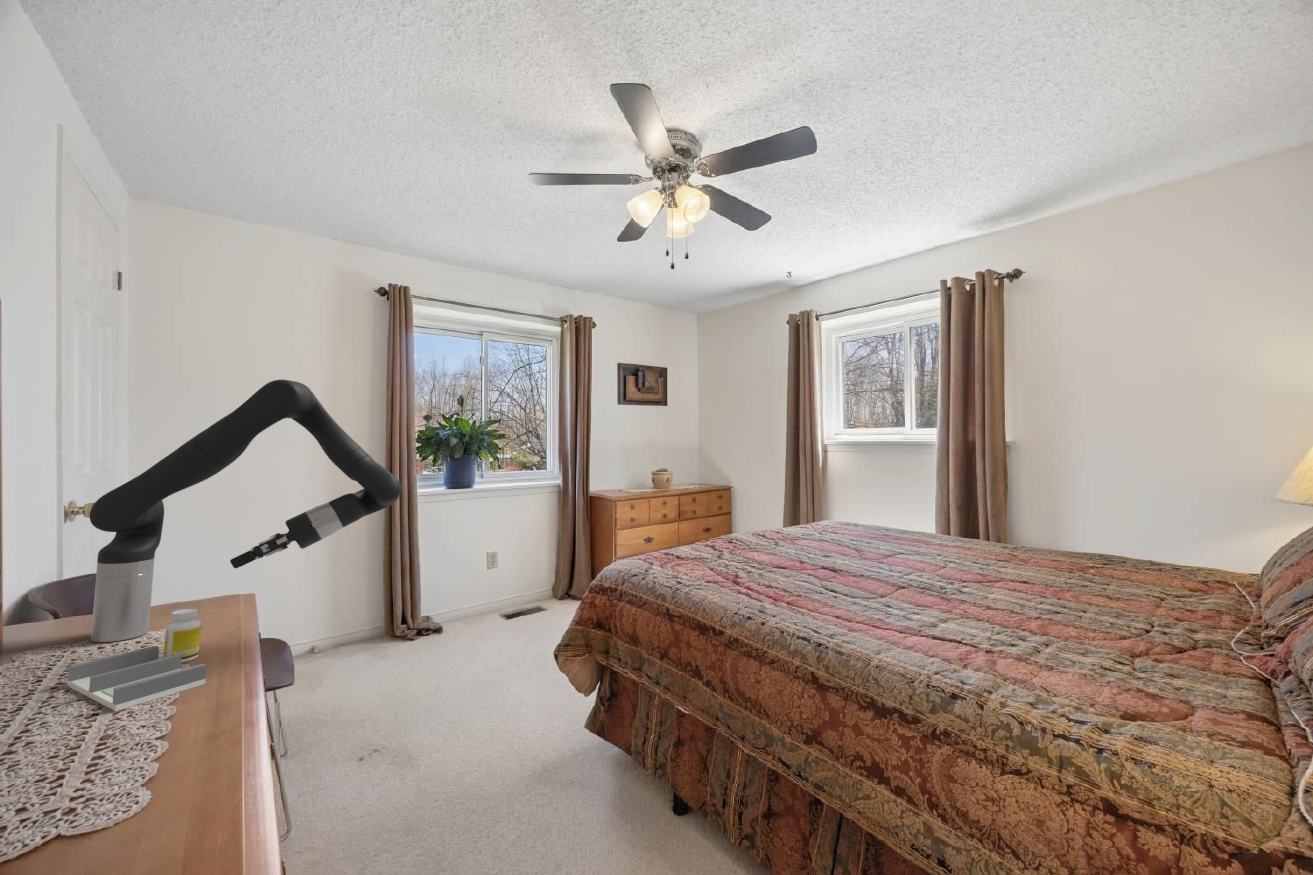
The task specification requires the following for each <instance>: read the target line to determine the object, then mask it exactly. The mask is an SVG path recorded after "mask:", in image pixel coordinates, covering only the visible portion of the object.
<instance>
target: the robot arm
mask: <svg viewBox="0 0 1313 875" xmlns="http://www.w3.org/2000/svg"><path fill="white" fill-rule="evenodd" d="M284 419H291V420H293V421H295V422H296V423H297V424H298V425H300V426H301V427H303V428H304V429H305V430H306V431H307V432H309V433H310V434H311V435H312V437H313V438H315V441H316V442H317V443H318V444H319V446H320V447H321V450H322V451H323V452H324V453H325V455H326V456H327V458H328V459H329V460H330V461H331V463H333V464H334V465H335V467H337V468H338V469H339V470H340V471H341V472H342V473H343V474H344V475H345V476H346V477H348V478H349V479H350V480H352V481H355V482H356V483H358V484H359V485H360V486H361V487H362V489H360V490H358V491H356V492H351V493H350V492H349V493H346V494H343V495H341V496H338V497H336V498H334V499H332V500H330V501H328V502H326V503H323V504H320V505H318V506H317V505H316V506H315V507H313V508H311V509H308V510H307V511H304V512H302V513H299V514H297V515H295V516H292V517H291V518H289V519H287V520H285V525H286V527H287V529H288V531H287V532H286V533H279V532H278V533H274V534H273V535H272V536H270V537H269V538H267V539H264V540H263V541H260V542H258V545H255V546H253V547H251V548H250V549H249V550H248V551H246V552H243V553H242V554H239V555H236V556H235V557H233V558H231V559H230V560H229V561H230V565H231V566H232V568H233V569H239V568H240V567H241V568H242V567H244V566H245V565H247V564H249V563H251V562H252V563H253V561H255V560H259V559H262V558H264V557H269V556H272V555H273V554H276V553H278V552H282V551H283V550H286V549H288V548H289V547H288V546H289V545H290V544H291V543H292V542H295V543H297V545H298V547H299V548H300V549H302V550H303V549H304V550H305V549H306V548H308V547H310V546H312V545H314V544H316V543H317V542H320V541H323V539H325V538H329V536H331V535H333V534H335V533H337V532H338V531H340V530H342V529H343V528H345V527H347V526H349V525H351V524H352V523H355V522H357V521H359V520H360V519H362V518H365V517H367V516H369V515H372V514H374V513H377V512H378V511H379V512H380V511H381V510H384V509H386V508H389V507H391V506H392V505H394V504H395V503H396V502H397V501H398V499H399V498H400V495H401V492H402V484H401V483H400V481H399V479H398V478H397V477H396V476H395V475H394V474H393V473H392V472H390V471H389V470H388V469H387V468H385V467H384V466H383V465H381V464H380V463H378V462H377V461H375V460H374V458H373V457H371V455H369V453H368V452H367V451H366V450H364V449H363V448H362V447H361V445H359V444H358V443H357V441H355V440H354V439H353V438H352V436H350V435H349V434H348V433H347V432H346V431H345V430H344V429H343V428H342V427H341V426H340V425H339V424H338V423H337V422H336V420H334V418H333V417H332V416H331V414H329V412H328V411H327V410H326V409H325V407H324V406H323V405H322V403H321V402H320V401H319V399H318V398H317V396H316V395H315V394H314V392H313V391H312V390H311V388H309V387H308V385H306V384H304V383H302V382H299V381H294V380H289V379H276V380H274V379H273V380H272V381H269V382H267V383H266V384H264V385H263V386H262V387H260V388H259V389H258V390H257V391H256V392H254V393H253V394H252V395H251V396H250V397H249V398H248V399H246V400H245V401H244V402H243V403H242V404H240V405H239V406H238V407H237V408H235V410H233V411H232V412H230V413H228V414H227V415H225V416H224V417H222V418H220V419H219V420H217V421H216V422H214V423H213V424H212V425H210V426H209V427H207V428H206V429H204V430H202V431H201V432H200V433H198V434H196V435H195V436H193V437H192V438H191V439H189V440H187V441H186V442H185V443H183V444H182V445H180V446H179V447H177V449H174V451H172V452H171V453H170V454H168V455H166V456H165V457H163V458H162V459H160V460H159V461H158V462H156V463H155V464H153V465H152V466H151V467H149V468H147V470H145V471H144V472H142V473H141V474H139V475H137V476H135V477H133V478H132V479H130V480H129V481H127V482H125V483H123V484H121V485H119V486H117V487H116V488H114V489H112V490H110V491H109V492H106V493H105V494H103V495H102V496H100V497H99V498H98V499H97V500H96V501H95V502H94V503H93V505H92V507H91V509H90V512H89V521H90V524H92V526H93V527H94V528H96V529H98V530H100V531H103V532H108V533H115V535H114V537H113V539H111V541H110V542H109V543H108V544H107V545H105V546H103V547H102V548H100V549H99V550H98V552H97V558H96V559H97V560H96V561H97V562H96V571H95V572H96V574H95V587H94V596H93V597H94V598H93V610H92V622H91V632H90V641H91V642H95V643H109V642H110V643H111V642H119V641H124V640H130V639H135V638H138V637H141V636H143V635H146V634H147V633H149V632H150V620H151V619H150V618H151V606H152V595H153V594H152V593H153V581H154V580H153V579H154V570H155V569H154V566H155V556H156V551H157V549H158V547H159V546H160V543H161V539H162V533H163V526H164V517H165V506H164V502H163V500H165V499H166V498H168V497H170V496H172V495H174V494H177V493H178V492H181V491H183V490H185V489H187V488H191V487H193V486H195V485H197V484H200V483H202V482H205V481H206V480H208V479H211V478H212V477H213V476H215V475H217V474H218V473H219V472H221V471H222V470H225V468H227V467H228V466H230V465H231V464H233V463H234V462H235V461H236V460H237V459H239V458H240V457H241V456H242V454H244V452H245V451H246V449H247V448H248V447H249V446H250V444H251V443H252V442H253V440H254V439H255V438H256V437H257V436H258V435H259V434H260V433H262V432H263V431H265V430H267V429H268V428H270V427H271V426H273V425H275V424H276V423H278V422H280V421H282V420H284Z"/></svg>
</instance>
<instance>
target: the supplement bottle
mask: <svg viewBox="0 0 1313 875" xmlns="http://www.w3.org/2000/svg"><path fill="white" fill-rule="evenodd" d="M198 611H199V610H198V609H197V608H185V609H178V610H175V611H172V612H171V622H170V623H168V624H167V625H166V627H165V635H164V647H163V658H166V657H170V656H174V655H178V654H180V655H182V660H181V664H183V663H186V662H190V661H194V659H196V658H198V657H199V654H200V645H201V631H202V622H201V620H199V619H196V618H197V617H198V613H199V612H198ZM182 662H183V663H182Z"/></svg>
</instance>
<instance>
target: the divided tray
mask: <svg viewBox="0 0 1313 875" xmlns="http://www.w3.org/2000/svg"><path fill="white" fill-rule="evenodd" d="M159 651H160V647H159V646H158V645H153V646H150V647H146V648H140V649H136V650H132V651H131V650H130V651H128V652H123V653H119V654H114V655H110V656H107V657H106V656H104V657H102V658H98V659H94V660H93V659H92V660H89V661H85V662H81V663H76V664H73V665H68V673H67V684H66V685H67V687H68V688H70V689H73V690H74V691H75V692H78V693H80V694H82V695H84V696H86V697H88V699H92V700H93V701H94V702H97V703H98V704H101V705H102V706H104V707H106V708H108V709H110V710H112V711H114V712H118V711H121V710H125V709H127V708H131V707H135V706H138V705H141V704H144V703H148V702H151V701H154V700H157V699H158V700H159V699H161V698H164V697H167V696H171V695H174V694H177V693H180V692H184V691H186V690H190V689H194V688H197V687H201V686H203V685H205V684H206V679H207V664H205V663H204V662H203V663H200V664H197V665H193V666H189V667H186V668H182V663H181V660H182V655H180V654H178V655H174V656H170V657H166V658H164V657H162V658H159ZM140 703H141V704H140ZM137 704H138V705H137ZM134 705H135V706H134Z"/></svg>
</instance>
